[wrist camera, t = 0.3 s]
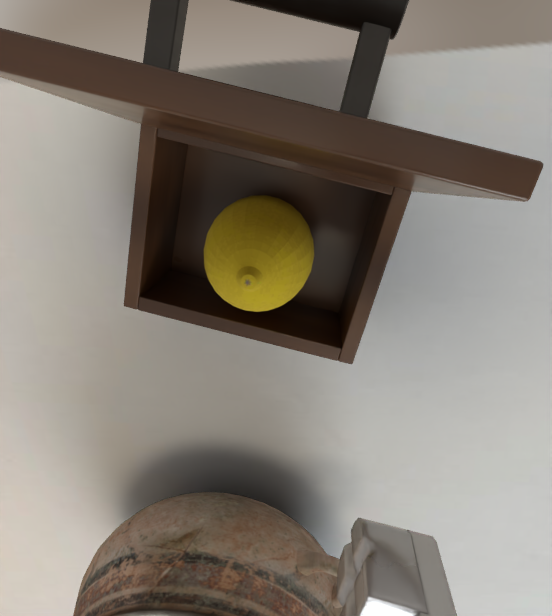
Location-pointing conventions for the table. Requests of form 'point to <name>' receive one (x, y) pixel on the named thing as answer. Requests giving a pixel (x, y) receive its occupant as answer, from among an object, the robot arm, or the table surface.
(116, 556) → the cooking pot
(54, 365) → the table surface
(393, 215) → the chest
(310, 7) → the lid
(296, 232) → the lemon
